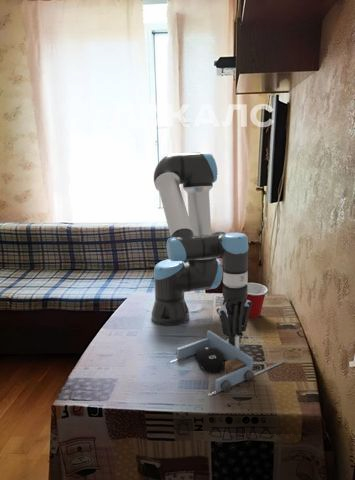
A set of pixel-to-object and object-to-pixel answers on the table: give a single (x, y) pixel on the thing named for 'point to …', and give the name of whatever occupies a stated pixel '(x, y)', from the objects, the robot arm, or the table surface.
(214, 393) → the track
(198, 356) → the computer mouse
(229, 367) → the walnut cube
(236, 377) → the blue u-shaped bracket
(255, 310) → the plastic cup
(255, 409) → the table surface
